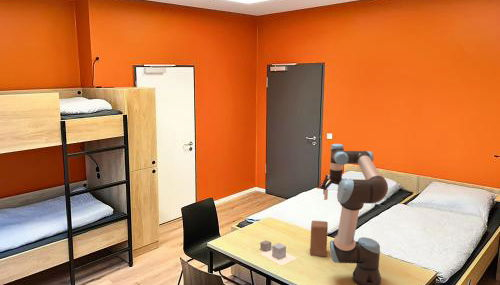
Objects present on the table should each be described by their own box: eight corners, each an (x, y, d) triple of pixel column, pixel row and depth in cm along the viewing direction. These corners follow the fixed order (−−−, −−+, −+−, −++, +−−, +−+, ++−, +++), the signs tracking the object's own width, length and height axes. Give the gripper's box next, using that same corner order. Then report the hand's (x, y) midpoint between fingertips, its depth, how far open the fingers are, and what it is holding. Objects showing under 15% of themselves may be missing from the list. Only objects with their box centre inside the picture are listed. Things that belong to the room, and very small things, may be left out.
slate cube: (285, 256, 238) (286, 246, 237) (278, 259, 234) (279, 248, 233) (279, 253, 243) (279, 242, 241) (272, 256, 239) (272, 245, 238)
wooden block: (326, 257, 238) (327, 227, 235) (309, 256, 240) (311, 225, 236) (326, 250, 248) (327, 221, 244) (310, 248, 250) (311, 219, 246)
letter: (297, 258, 236) (297, 258, 236) (281, 266, 227) (281, 265, 227) (274, 247, 251) (275, 247, 251) (258, 253, 242) (258, 253, 242)
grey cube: (271, 249, 247) (271, 242, 247) (265, 251, 244) (265, 244, 243) (266, 247, 251) (266, 240, 250) (260, 249, 248) (260, 242, 247)
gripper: (357, 172, 229) (355, 206, 233) (323, 164, 247) (322, 196, 251) (350, 174, 224) (348, 208, 228) (316, 166, 242) (314, 198, 246)
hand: (334, 202), depth 239 cm, fingers open, 13 cm apart
